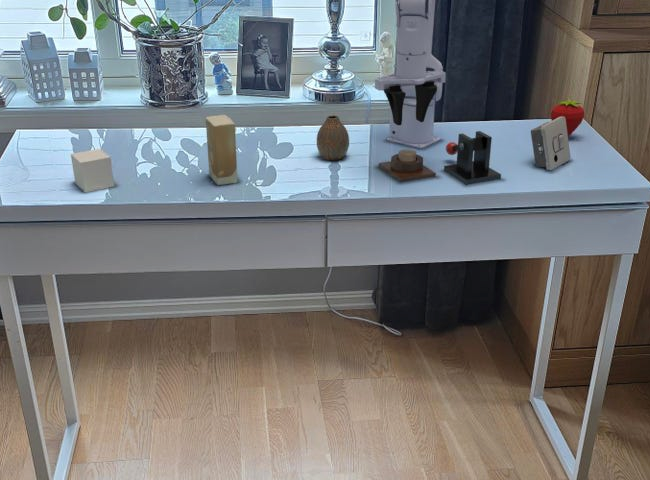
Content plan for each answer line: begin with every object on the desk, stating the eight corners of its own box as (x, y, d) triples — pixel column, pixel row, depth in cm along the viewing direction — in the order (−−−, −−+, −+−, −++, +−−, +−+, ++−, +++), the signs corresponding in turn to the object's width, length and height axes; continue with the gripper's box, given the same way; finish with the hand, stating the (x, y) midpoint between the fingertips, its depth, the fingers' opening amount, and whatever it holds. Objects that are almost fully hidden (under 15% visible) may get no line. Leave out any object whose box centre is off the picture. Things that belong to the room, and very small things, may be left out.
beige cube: (75, 183, 179) (70, 153, 176) (104, 177, 182) (100, 148, 179) (85, 192, 175) (80, 162, 172) (114, 186, 178) (110, 157, 175)
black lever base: (443, 171, 185) (446, 131, 181) (477, 165, 188) (480, 126, 183) (466, 185, 178) (469, 144, 174) (500, 179, 181) (504, 139, 176)
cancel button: (395, 158, 184) (395, 150, 183) (410, 156, 185) (411, 148, 184) (403, 164, 181) (403, 155, 180) (419, 161, 182) (419, 153, 181)
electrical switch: (550, 172, 184) (552, 127, 180) (527, 169, 187) (528, 124, 183) (570, 160, 191) (573, 116, 186) (548, 158, 194) (550, 114, 189)
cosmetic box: (208, 175, 183) (204, 116, 176) (229, 172, 184) (225, 113, 178) (217, 186, 178) (213, 125, 171) (238, 183, 179) (235, 122, 173)
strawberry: (544, 134, 206) (549, 90, 201) (576, 133, 206) (583, 89, 201) (551, 142, 201) (557, 97, 196) (584, 141, 201) (591, 96, 196)
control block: (378, 167, 187) (378, 153, 185) (412, 162, 190) (412, 148, 188) (400, 183, 179) (401, 168, 178) (435, 177, 182) (436, 163, 180)
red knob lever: (444, 156, 189) (442, 143, 188) (455, 154, 190) (453, 142, 189) (473, 151, 178) (471, 137, 178) (484, 149, 179) (482, 136, 178)
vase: (353, 154, 194) (353, 113, 189) (343, 164, 189) (343, 123, 184) (323, 150, 196) (322, 110, 191) (312, 160, 190) (311, 119, 186)
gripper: (387, 60, 166) (385, 132, 173) (455, 52, 171) (450, 123, 178) (370, 52, 172) (369, 122, 179) (437, 45, 177) (433, 113, 184)
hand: (408, 122), depth 179 cm, fingers open, 4 cm apart
